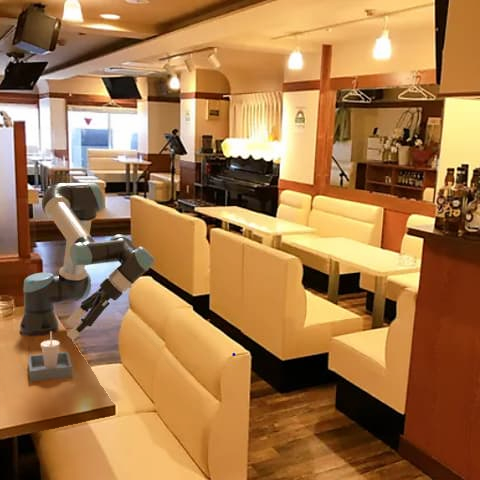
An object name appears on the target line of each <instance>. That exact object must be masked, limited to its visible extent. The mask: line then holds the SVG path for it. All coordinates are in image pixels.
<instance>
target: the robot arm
mask: <svg viewBox="0 0 480 480" xmlns="http://www.w3.org/2000/svg"><path fill="white" fill-rule="evenodd" d="M104 200H105V199H104V195H103V191H102V189H101V187H100V185H98V184H97V183H96V182H86V181H85V182H58V183H55V184H53V185H51V186H50V187H48V188H47V189H46V190H45V192H44V193H43V196H42V198H41V207H42V210H43V213H44V214H45V215H46V217H47V218H48V219H50V220H52V221H53V222H54V224H55V225H56V227H57V228H58V230H59V232H60V233H61V234H62V235H63V237H64V238H65V240H66V245H65V252H64V259H63V266H62V267H60V268H59V269H58V274H57V275H55V274H53V273H52V272H48V271H47V272H38V273H33V274H30V275H28V276H26V278H24V281H23V288H22V290H23V309H24V312H23V316H22V318H21V321H20V325H19V331H20V333H21V334H24V335H26V336H33V337H34V336H46V335H50V332H52V334H54V333H55V332H57V331H58V330H59V322H58V319H57V316H56V313H55V307H54V306H55V304H63V303H68V302H75V301H76V302H77V301H81V304H80V306H79V307H78V308H77V309H76V310H75V311H74V312H73V313H72V314H71V315H70V316H69V317H68V318H67V319H66V320H65V322H67V324H69V325H70V326H71V327H72V326H74V325H75V324H76V323H77V322H78V321H79V320H80V321H79V322H78V323H77V324H76V325H75V326H74V327H73V328H72V329H70V331H69V332H68V333H67V334H66V336H68V337H69V339H71V340H72V341H74V340H75V339H76V338H77V337H78V336H79V335H80V334H82V332H83V331H85V330H86V329H87V328H88V327H90V328H91V327H92V325H94V323H95V322H96V321H97V319H99V317H100V316H101V314H102V313H103V312H104V310H105V309H106V308H107V307H108V306H110V303H111V302H109V300H113V301H117V300H118V299H119V298H120V297H121V296H122V295H123V292H124V293H125V292H126V291H127V290H128V289H131V288H132V285H133V284H134V283H135V282H136V281H137V280H138V279H139V278H140V277H141V276H143V274H145V273H146V272H147V271H149V269H150V268H151V266H153V264H154V263H155V261H156V260H155V257H154V256H153V255H152V254H151V253H150V252H149V251H148V250H147V249H146V248H145V247H144V246H139V247H136V246H135V244H134V243H133V242H132V240H131V239H129V238H128V237H127V236H126V235H124V234H122V233H121V234H115V235H114V236H111V238H110V239H109V240H100V241H95V239H94V238H93V237H92V236H91V234H90V232H91V226H92V221H94V220H95V219H96V217H97V213H100V212H102V211H103V209H104V205H105V201H104ZM116 262H118V263H119V264H120V265H119V266H118V267H116V268H115V269H114V270H113V271H112V272H111V273H110V274H109V275H108V278H107V277H106V278H105V279H104V280H103V281H102V282H101V283H100V284H99V289H98V290H96V291H95V292H94V293H92V294H91V295H90V292H91V290H92V279H91V276H90V274H89V273H88V271H87V269H85V267H86V266H91V265H97V264H105V263H106V264H107V263H116ZM89 295H90V296H89ZM82 300H83V301H82ZM86 313H87V314H86ZM85 314H86V315H85ZM84 315H85V316H84ZM83 316H84V318H83ZM80 318H81V319H80Z"/></svg>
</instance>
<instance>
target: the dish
mask: <svg viewBox="0 0 480 480" xmlns="http://www.w3.org/2000/svg"><path fill="white" fill-rule="evenodd" d="M27 358H28V359H27V360H28V374H29V381H30V382H34V381H35V382H37V381H45V380H55V379H56V380H57V379H63V378H70V377H71V378H72V377H73V365H72V361H71V358H70V353H69V352H68V351H64V352H58V359H57V368H47V369H45V365H44V359H43V353H41V354H32V355H31V354H30V355H28V357H27Z"/></svg>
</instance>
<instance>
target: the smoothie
mask: <svg viewBox="0 0 480 480" xmlns="http://www.w3.org/2000/svg"><path fill="white" fill-rule="evenodd" d="M49 336H50V337H49V339H47V340H44V341H42V342H40V349H41V352H42V353H41V354H43V359H44V365H45V369H47V368H57V359H58V353H59V351H60V350H59V349H60V346H61V344H60V343H61V342H60V341H59V340H56V339H53V333H52V332H50V334H49Z"/></svg>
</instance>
